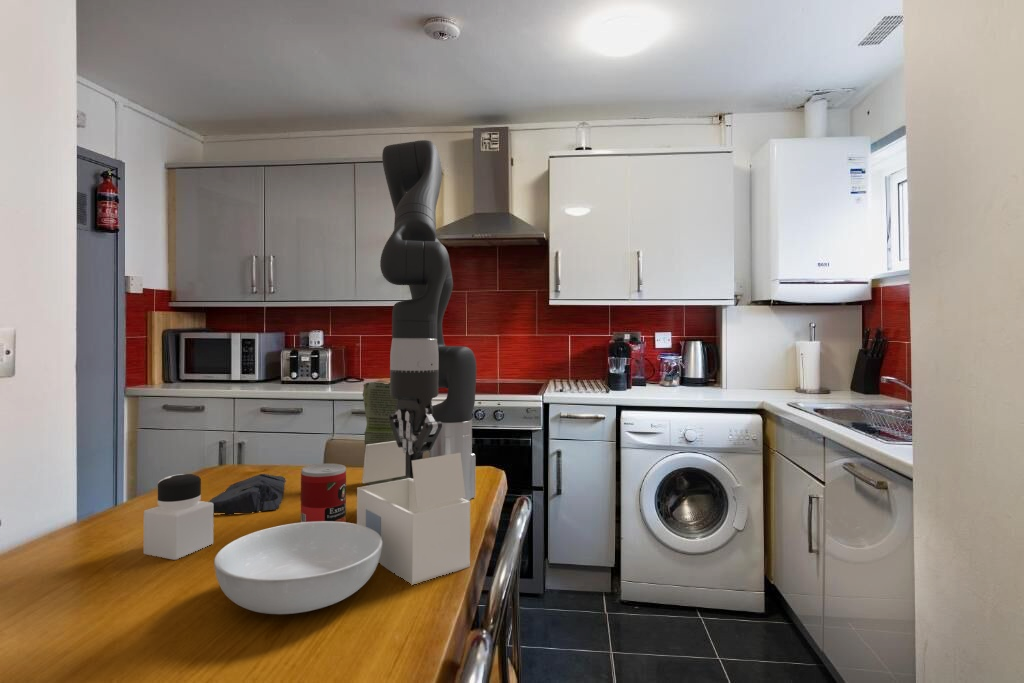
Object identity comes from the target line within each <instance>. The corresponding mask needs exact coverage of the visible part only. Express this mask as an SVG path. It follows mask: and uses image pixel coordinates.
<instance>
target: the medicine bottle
mask: <svg viewBox="0 0 1024 683" xmlns="http://www.w3.org/2000/svg"><path fill="white" fill-rule="evenodd" d="M201 499H202V477H200V476H199V475H196V474H193V473H181V474H180V473H179V474H173V475H169V476H165V477H164V478H162V479H160V480H159V481H158V482H157V506H154V507H152V508H148V509H145V510H144V511H143V554H144V555H146V556H151V555H152V557H156V556H157V557H156V558H161V557H162V559H168V560H172V561H173V560H174V561H176V560H179V558H180V559H181V557H182V558H184V557H186V555H187V556H188V554H189V555H191V553H192V554H194V553H196V552H198V550H199V551H200V549H201V550H203V549H206V548H208V547H210V546H209V545H211V544H212V545H214V519H215V518H214V516H215V515H214V504H213V503H211V502H209V501H205V500H203V501H202V500H201ZM212 545H211V546H212ZM207 546H208V547H207ZM205 547H206V548H205ZM202 548H203V549H202ZM195 551H196V552H195ZM193 552H194V553H193Z"/></svg>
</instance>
